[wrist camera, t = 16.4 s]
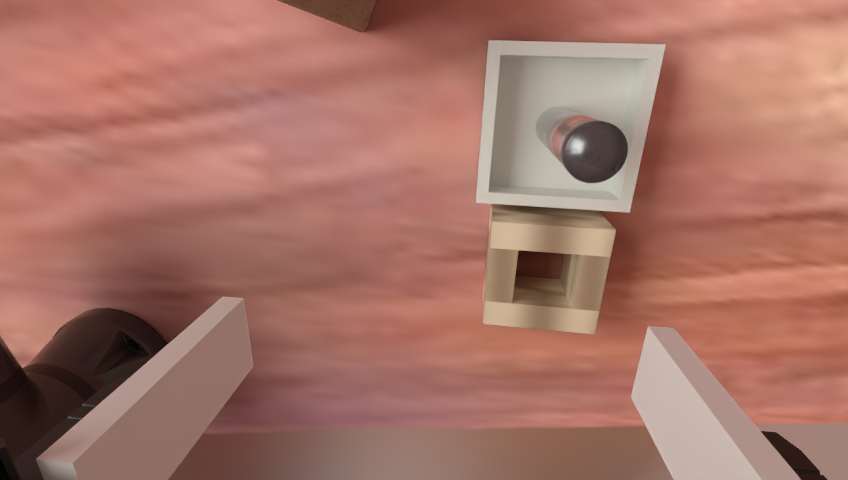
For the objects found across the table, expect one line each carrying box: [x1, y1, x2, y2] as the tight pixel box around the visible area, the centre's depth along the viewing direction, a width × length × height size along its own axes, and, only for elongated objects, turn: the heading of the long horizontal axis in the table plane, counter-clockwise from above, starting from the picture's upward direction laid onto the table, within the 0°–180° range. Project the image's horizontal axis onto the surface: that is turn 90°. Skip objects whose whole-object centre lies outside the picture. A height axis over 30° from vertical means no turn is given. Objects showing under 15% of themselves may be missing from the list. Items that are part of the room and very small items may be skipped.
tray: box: [476, 40, 666, 213], centre depth 36 cm, size 13×13×4 cm
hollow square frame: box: [483, 204, 616, 334], centre depth 40 cm, size 10×10×6 cm
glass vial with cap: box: [535, 107, 628, 183], centre depth 31 cm, size 4×4×14 cm
